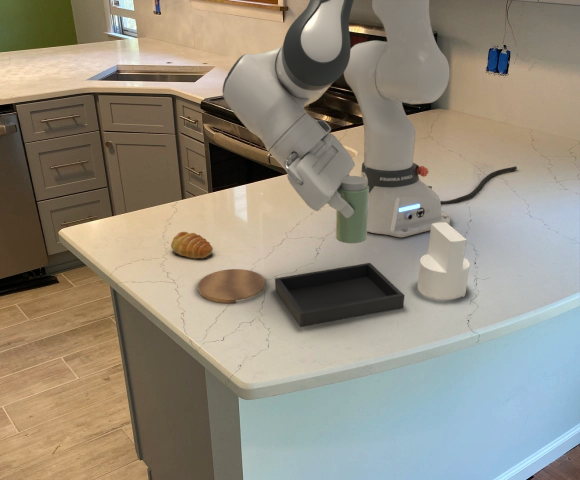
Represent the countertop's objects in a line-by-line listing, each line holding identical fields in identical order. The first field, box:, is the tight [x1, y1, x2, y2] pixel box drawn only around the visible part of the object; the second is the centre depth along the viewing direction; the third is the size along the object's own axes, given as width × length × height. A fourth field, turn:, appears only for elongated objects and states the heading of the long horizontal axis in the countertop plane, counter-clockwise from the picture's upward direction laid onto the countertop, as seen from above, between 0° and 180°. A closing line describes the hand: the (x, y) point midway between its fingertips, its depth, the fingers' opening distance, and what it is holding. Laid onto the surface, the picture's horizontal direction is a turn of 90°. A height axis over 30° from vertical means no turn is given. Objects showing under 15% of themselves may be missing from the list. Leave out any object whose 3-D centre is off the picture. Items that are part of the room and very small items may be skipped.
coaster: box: [197, 268, 266, 304], centre depth 121 cm, size 13×13×1 cm
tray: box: [274, 262, 405, 328], centre depth 115 cm, size 20×15×3 cm
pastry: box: [170, 231, 214, 259], centre depth 135 cm, size 9×7×4 cm
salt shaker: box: [335, 175, 369, 244], centre depth 106 cm, size 5×5×10 cm
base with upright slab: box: [417, 222, 470, 301], centre depth 115 cm, size 9×9×12 cm
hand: (355, 207), depth 106 cm, fingers closed on salt shaker, 5 cm apart
